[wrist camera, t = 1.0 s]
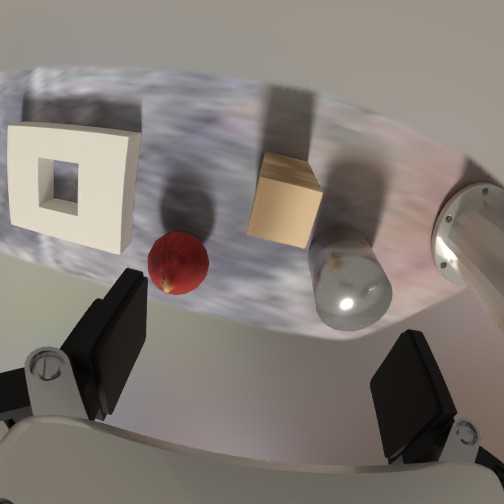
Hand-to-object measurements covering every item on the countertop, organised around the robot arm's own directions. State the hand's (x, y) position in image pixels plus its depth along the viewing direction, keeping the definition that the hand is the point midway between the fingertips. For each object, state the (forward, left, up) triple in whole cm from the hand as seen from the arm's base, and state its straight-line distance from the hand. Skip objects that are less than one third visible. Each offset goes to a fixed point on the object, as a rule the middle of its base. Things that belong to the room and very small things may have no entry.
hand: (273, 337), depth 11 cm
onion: (+11, 0, -21) cm, 24 cm away
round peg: (0, +10, -21) cm, 23 cm away
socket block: (+16, -15, -21) cm, 30 cm away
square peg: (-1, 0, -21) cm, 21 cm away
